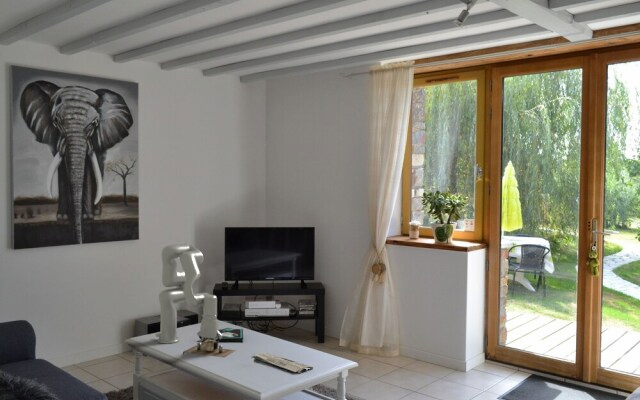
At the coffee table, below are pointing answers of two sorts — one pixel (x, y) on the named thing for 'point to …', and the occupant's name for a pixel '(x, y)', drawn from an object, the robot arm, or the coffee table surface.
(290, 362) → the newspaper
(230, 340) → the wall plaque
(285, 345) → the coffee table surface
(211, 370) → the coffee table surface
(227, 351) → the board
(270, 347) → the coffee table surface
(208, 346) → the frame
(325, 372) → the coffee table surface
